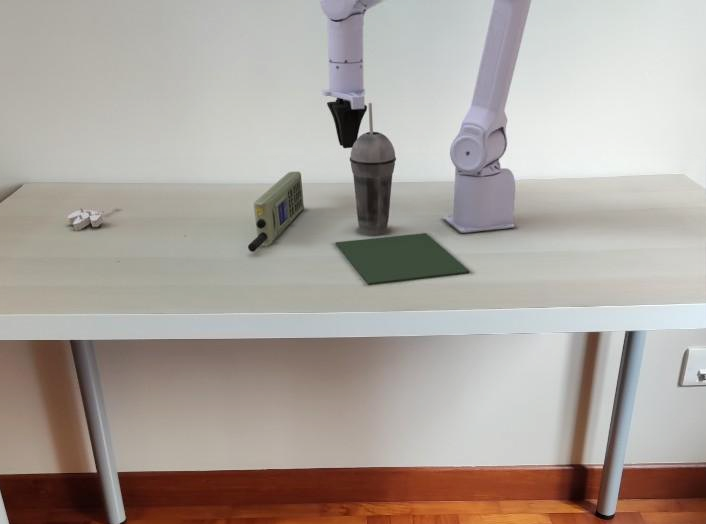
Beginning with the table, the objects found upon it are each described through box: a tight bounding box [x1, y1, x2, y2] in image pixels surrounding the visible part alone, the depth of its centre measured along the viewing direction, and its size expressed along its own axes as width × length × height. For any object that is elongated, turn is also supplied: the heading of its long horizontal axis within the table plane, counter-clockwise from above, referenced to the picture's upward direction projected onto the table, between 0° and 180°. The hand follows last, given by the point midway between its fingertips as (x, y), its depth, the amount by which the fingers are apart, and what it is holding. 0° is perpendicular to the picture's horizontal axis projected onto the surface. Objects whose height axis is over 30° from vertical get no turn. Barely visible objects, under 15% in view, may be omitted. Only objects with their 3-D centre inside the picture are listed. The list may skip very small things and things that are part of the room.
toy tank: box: [67, 207, 118, 231], centre depth 138 cm, size 6×12×3 cm, turn 179°
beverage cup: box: [349, 102, 397, 236], centre depth 127 cm, size 7×7×20 cm
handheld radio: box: [247, 170, 305, 253], centre depth 131 cm, size 7×3×25 cm
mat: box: [335, 232, 470, 286], centre depth 121 cm, size 15×18×1 cm
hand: (347, 146), depth 140 cm, fingers closed
